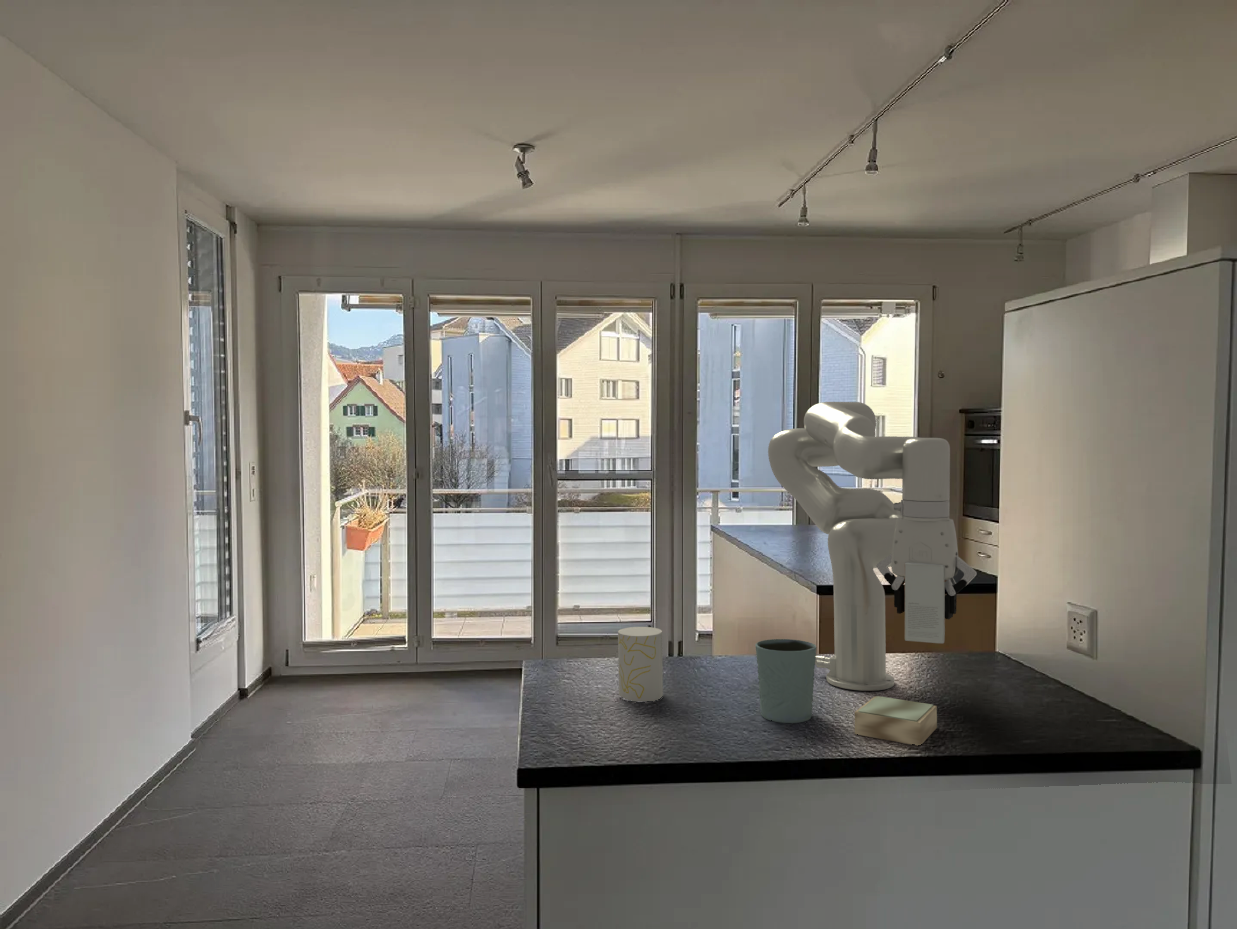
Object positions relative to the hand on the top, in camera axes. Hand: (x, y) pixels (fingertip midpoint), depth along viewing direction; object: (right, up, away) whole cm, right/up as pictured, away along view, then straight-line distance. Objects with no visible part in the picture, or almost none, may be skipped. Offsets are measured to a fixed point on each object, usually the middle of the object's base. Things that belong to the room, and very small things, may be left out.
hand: (924, 614), depth 140 cm
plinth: (-8, -17, -9) cm, 21 cm away
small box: (0, -4, 0) cm, 4 cm away
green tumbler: (-23, -17, 0) cm, 29 cm away
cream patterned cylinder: (-48, -18, +12) cm, 52 cm away
